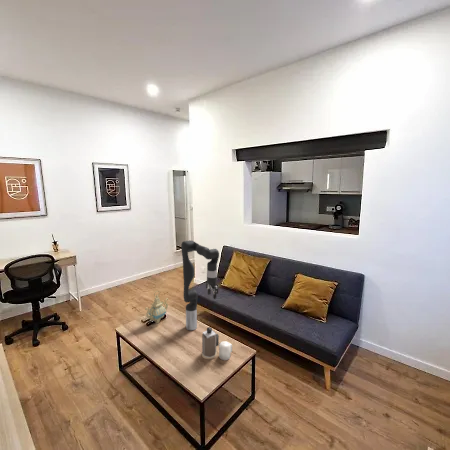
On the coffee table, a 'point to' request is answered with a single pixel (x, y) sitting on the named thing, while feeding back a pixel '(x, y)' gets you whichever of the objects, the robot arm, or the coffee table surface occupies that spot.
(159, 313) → the teapot
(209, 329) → the plunger
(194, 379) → the coffee table surface
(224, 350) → the mug
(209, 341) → the carafe
